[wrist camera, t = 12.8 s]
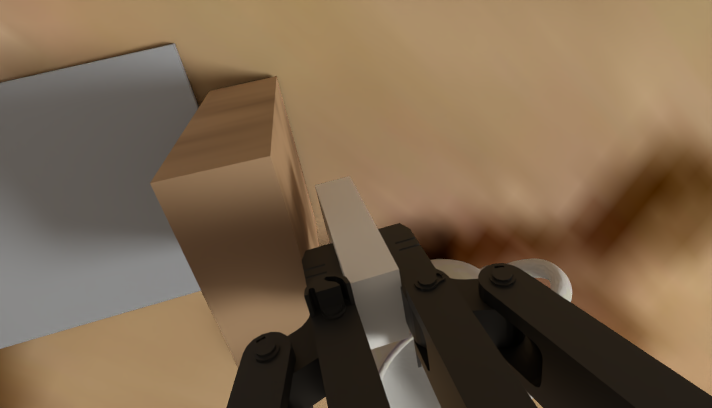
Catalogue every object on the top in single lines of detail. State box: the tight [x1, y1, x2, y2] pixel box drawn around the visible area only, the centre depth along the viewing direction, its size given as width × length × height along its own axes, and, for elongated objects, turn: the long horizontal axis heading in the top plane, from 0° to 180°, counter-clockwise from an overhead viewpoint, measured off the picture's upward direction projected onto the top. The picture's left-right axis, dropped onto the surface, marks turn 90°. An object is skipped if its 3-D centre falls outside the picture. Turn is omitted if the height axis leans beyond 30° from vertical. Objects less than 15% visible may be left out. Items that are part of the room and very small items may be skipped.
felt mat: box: [0, 43, 201, 349], centre depth 23 cm, size 14×16×1 cm
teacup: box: [371, 259, 572, 408], centre depth 28 cm, size 14×11×8 cm
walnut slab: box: [150, 76, 319, 368], centre depth 19 cm, size 9×4×11 cm, turn 11°
